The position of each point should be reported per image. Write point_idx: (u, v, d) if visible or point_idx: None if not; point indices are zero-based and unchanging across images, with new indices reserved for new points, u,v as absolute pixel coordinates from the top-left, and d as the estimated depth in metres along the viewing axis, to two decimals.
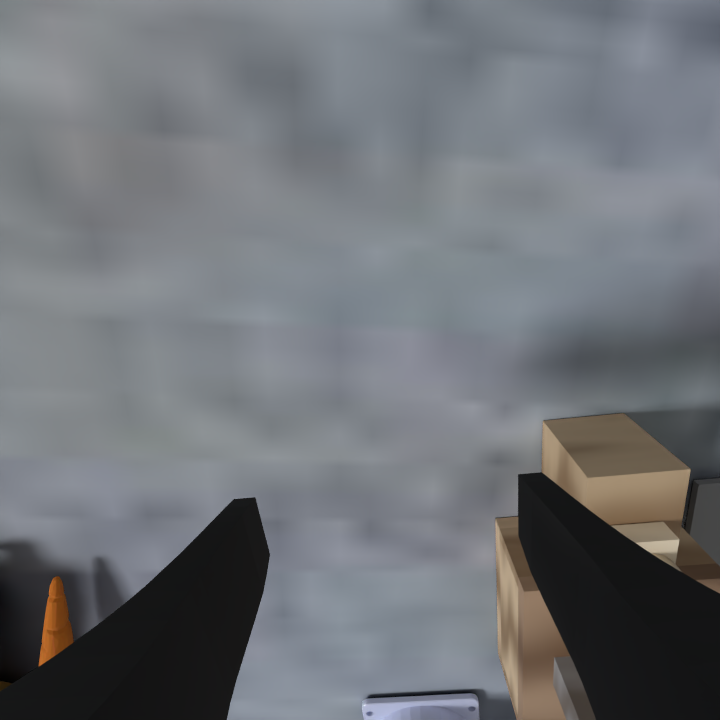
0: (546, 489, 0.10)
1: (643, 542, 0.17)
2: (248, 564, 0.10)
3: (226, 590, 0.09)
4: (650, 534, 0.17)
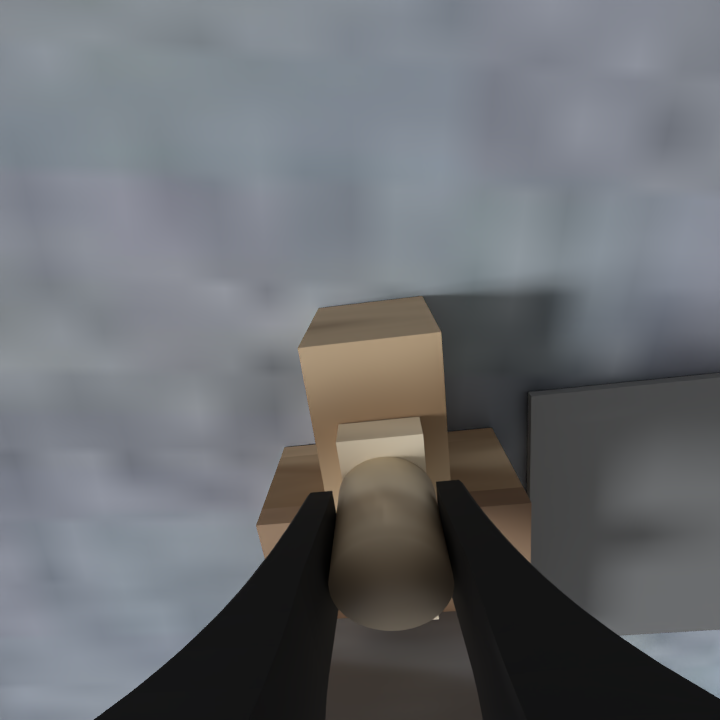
0: (454, 497, 0.10)
1: (372, 439, 0.12)
2: None
3: (320, 583, 0.09)
4: (389, 430, 0.12)
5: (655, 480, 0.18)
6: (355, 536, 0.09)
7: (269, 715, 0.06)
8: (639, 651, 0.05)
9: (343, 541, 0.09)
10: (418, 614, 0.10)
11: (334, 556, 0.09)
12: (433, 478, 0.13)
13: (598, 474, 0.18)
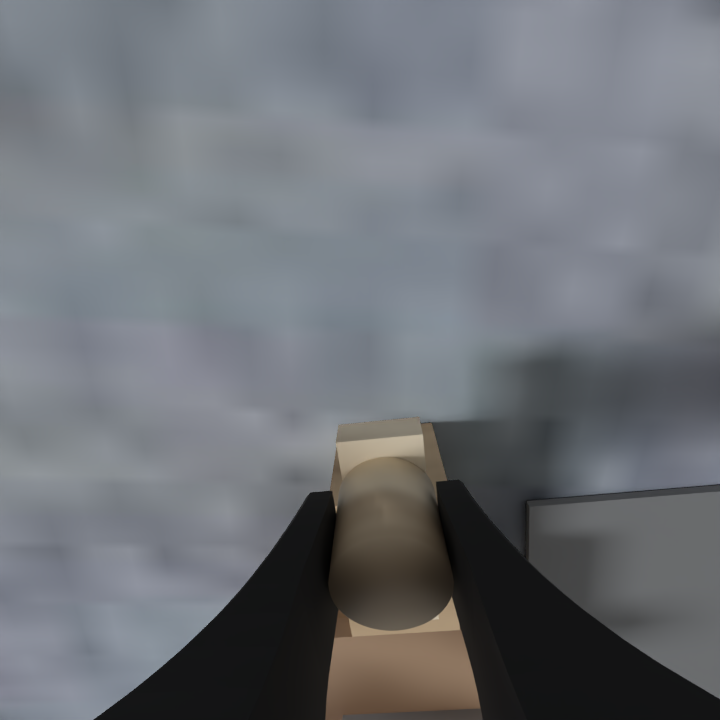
0: (454, 497, 0.10)
1: (372, 439, 0.12)
2: None
3: (320, 583, 0.09)
4: (389, 430, 0.12)
5: (641, 576, 0.20)
6: (355, 535, 0.09)
7: (269, 715, 0.06)
8: (639, 651, 0.05)
9: (343, 541, 0.09)
10: (418, 614, 0.10)
11: (334, 556, 0.09)
12: None
13: (590, 571, 0.20)
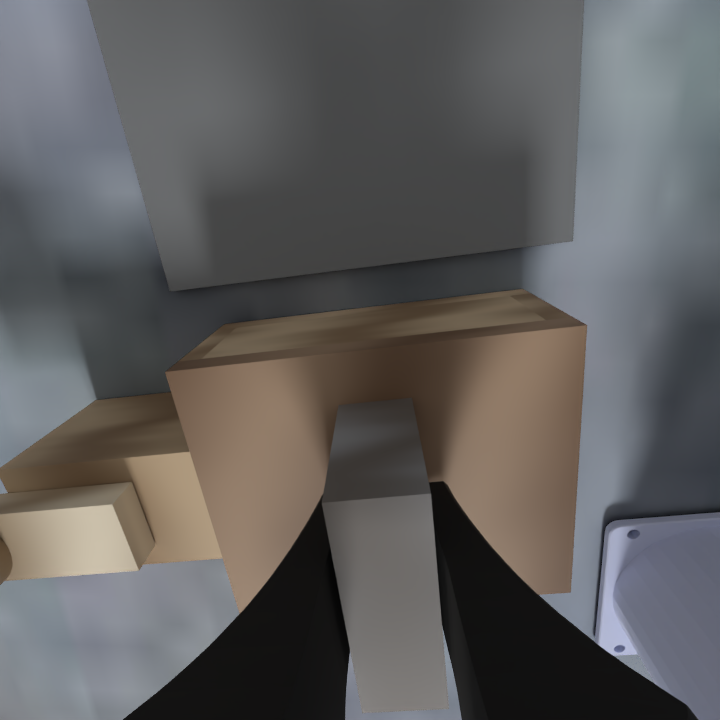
0: (437, 498, 0.10)
1: None
2: None
3: None
4: None
5: (266, 102, 0.13)
6: None
7: (299, 714, 0.06)
8: (607, 653, 0.05)
9: None
10: None
11: None
12: (153, 471, 0.12)
13: (264, 189, 0.14)
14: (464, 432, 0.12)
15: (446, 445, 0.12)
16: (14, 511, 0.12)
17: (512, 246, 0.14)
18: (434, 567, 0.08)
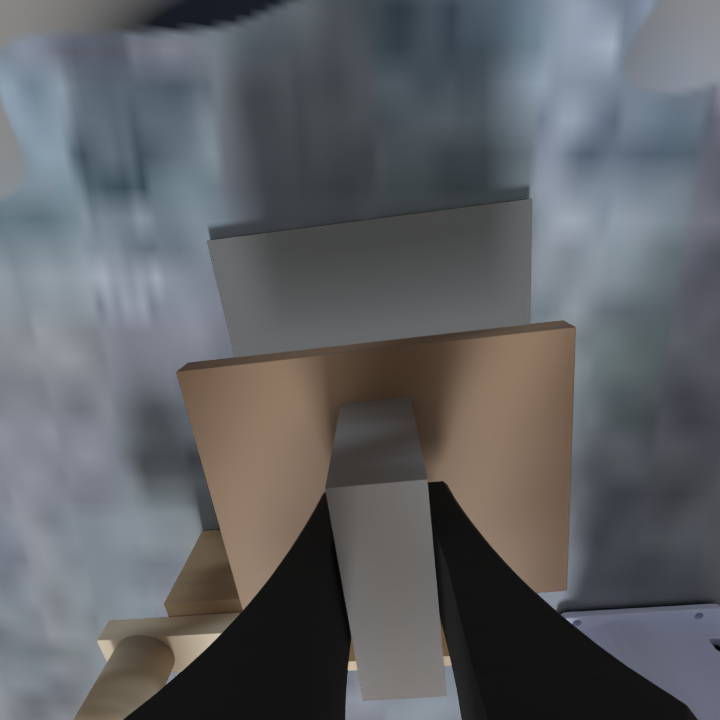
0: (437, 498, 0.10)
1: (106, 660, 0.20)
2: None
3: (338, 582, 0.09)
4: None
5: None
6: None
7: (299, 713, 0.06)
8: (606, 653, 0.05)
9: None
10: None
11: None
12: None
13: None
14: (461, 430, 0.12)
15: (444, 443, 0.12)
16: (180, 634, 0.19)
17: None
18: (431, 552, 0.09)
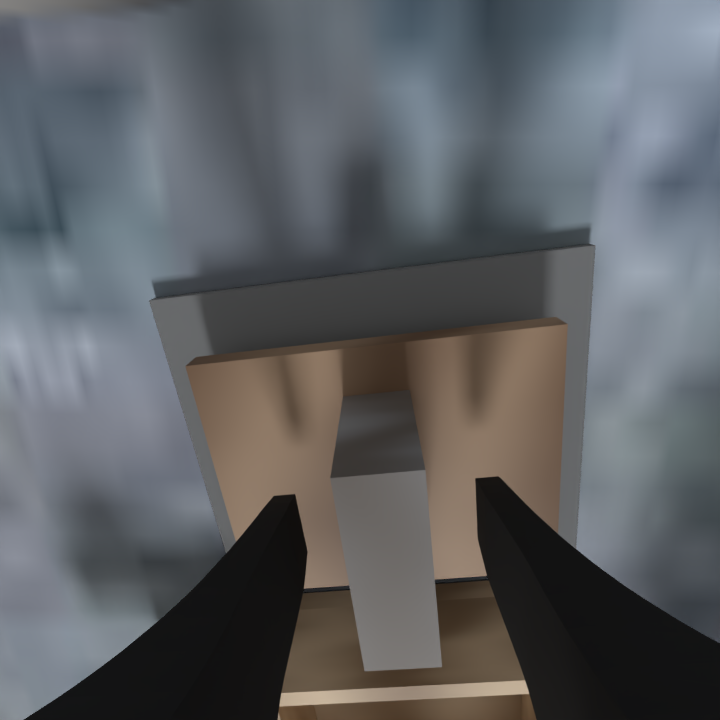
0: (498, 493, 0.10)
1: None
2: (291, 561, 0.10)
3: (274, 587, 0.09)
4: None
5: None
6: None
7: (196, 719, 0.06)
8: None
9: None
10: None
11: None
12: None
13: None
14: (457, 421, 0.13)
15: (441, 433, 0.13)
16: None
17: None
18: (428, 536, 0.09)
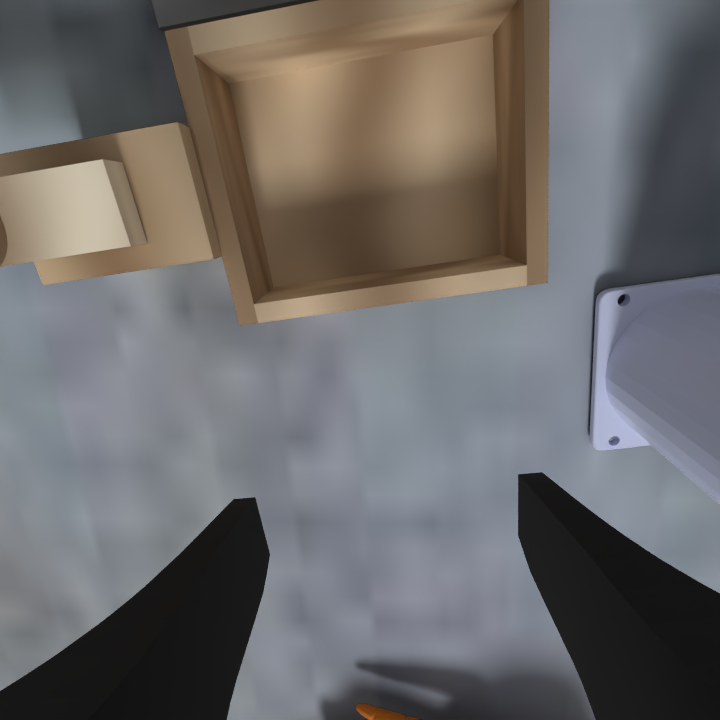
0: (546, 489, 0.10)
1: None
2: (248, 564, 0.10)
3: (226, 590, 0.09)
4: None
5: None
6: None
7: None
8: None
9: None
10: None
11: None
12: (143, 149, 0.13)
13: None
14: None
15: None
16: (7, 176, 0.12)
17: None
18: None
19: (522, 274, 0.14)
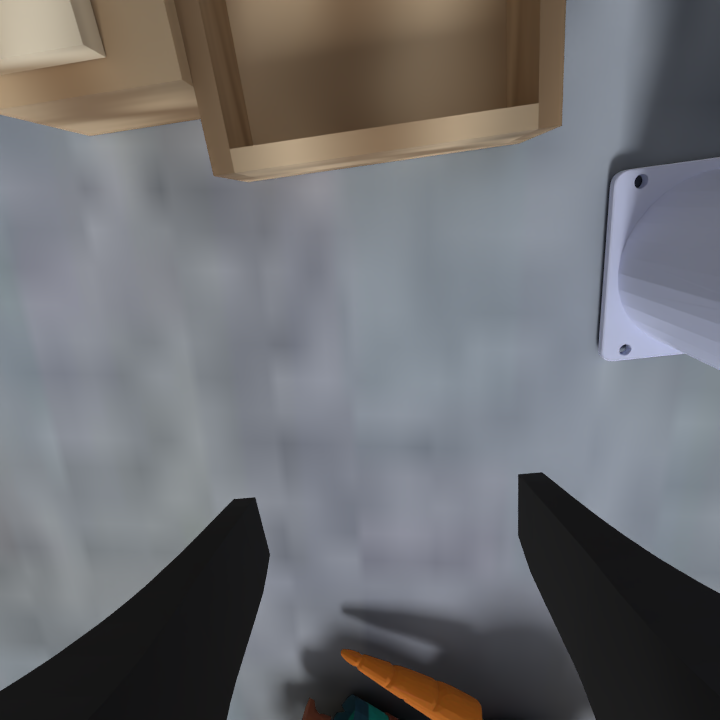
0: (546, 489, 0.10)
1: None
2: (248, 564, 0.10)
3: (226, 590, 0.09)
4: None
5: None
6: None
7: None
8: None
9: None
10: None
11: None
12: None
13: None
14: None
15: None
16: None
17: None
18: None
19: (533, 114, 0.13)
